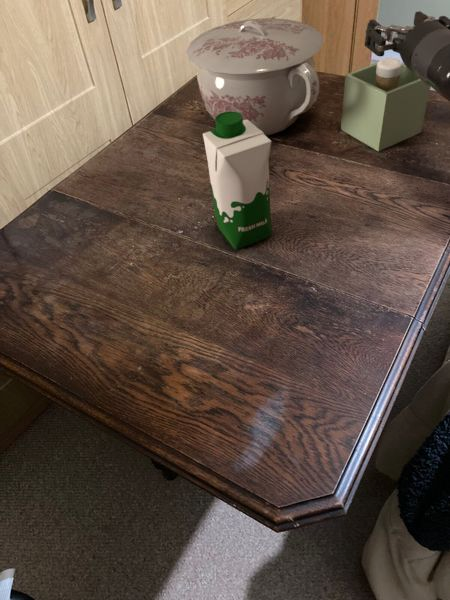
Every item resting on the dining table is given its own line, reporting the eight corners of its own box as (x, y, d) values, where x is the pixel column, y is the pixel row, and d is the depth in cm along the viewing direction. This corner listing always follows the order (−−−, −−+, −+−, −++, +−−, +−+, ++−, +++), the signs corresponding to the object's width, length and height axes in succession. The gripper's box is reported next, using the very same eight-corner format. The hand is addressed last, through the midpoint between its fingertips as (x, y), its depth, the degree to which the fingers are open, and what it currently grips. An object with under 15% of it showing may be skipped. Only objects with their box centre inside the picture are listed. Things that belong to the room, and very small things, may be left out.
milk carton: (255, 210, 89) (248, 103, 74) (279, 238, 83) (277, 127, 68) (210, 227, 87) (194, 119, 72) (233, 256, 81) (220, 146, 66)
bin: (381, 113, 108) (389, 57, 99) (420, 133, 101) (433, 75, 92) (340, 130, 105) (345, 74, 96) (378, 152, 98) (386, 94, 89)
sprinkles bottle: (364, 129, 102) (371, 63, 92) (378, 120, 104) (387, 55, 94) (383, 136, 100) (392, 70, 90) (397, 127, 102) (407, 60, 92)
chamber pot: (201, 97, 121) (189, 4, 106) (314, 89, 119) (318, -8, 104) (192, 159, 102) (175, 56, 87) (326, 151, 100) (332, 43, 85)
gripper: (485, 21, 75) (435, -9, 86) (395, 37, 74) (357, 4, 85) (472, 71, 81) (426, 36, 92) (388, 87, 80) (353, 50, 91)
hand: (393, 21), depth 88 cm, fingers open, 8 cm apart
